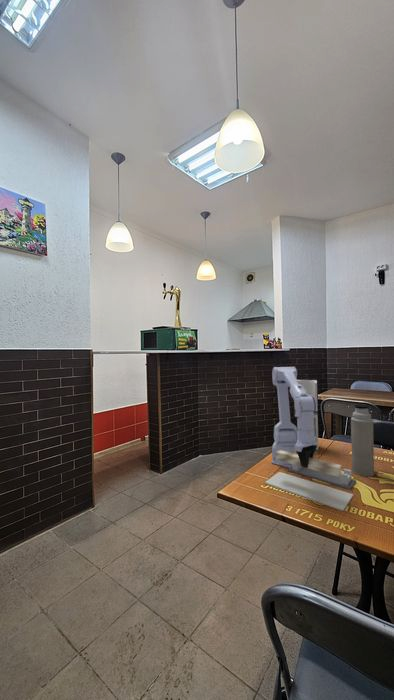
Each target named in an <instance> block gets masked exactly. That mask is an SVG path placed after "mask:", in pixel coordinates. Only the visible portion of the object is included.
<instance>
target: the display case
mask: <svg viewBox="0 0 394 700" xmlns="http://www.w3.org/2000/svg"><path fill="white" fill-rule="evenodd" d="M297 381H298V383H299V384H301V385H302V386H303V387H304V389H305V390H306V392H307V393H308V395H311V396H313V397H314V398H315V400H316V411H315V412H314V436H316V441H315V442H318V444H317V448H316V450H315V452H314V455H319V422H318V421H319V419H318V418H319V417H318V415H319V413H318V384H317V383H318V381H317V379H312V380H311V379H310V380H309V379H297ZM293 401H294V400H293ZM294 402H295V401H294ZM294 402H293V403H294ZM294 417H295V418H297V416H296V410H295V409H294Z"/></svg>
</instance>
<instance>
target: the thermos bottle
mask: <svg viewBox="0 0 394 700" xmlns="http://www.w3.org/2000/svg"><path fill="white" fill-rule="evenodd" d="M350 436H351V439H350V440H351V472H352V473H354V474H355V475H359V476H361V477H373V476H374V475H375V455H374V454H375V453H374V449H375V447H374V419H373V418H372V414H371V413H370V412H369V406H368V405H365V404H354V411H353V412H352V417H351V418H350Z"/></svg>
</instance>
